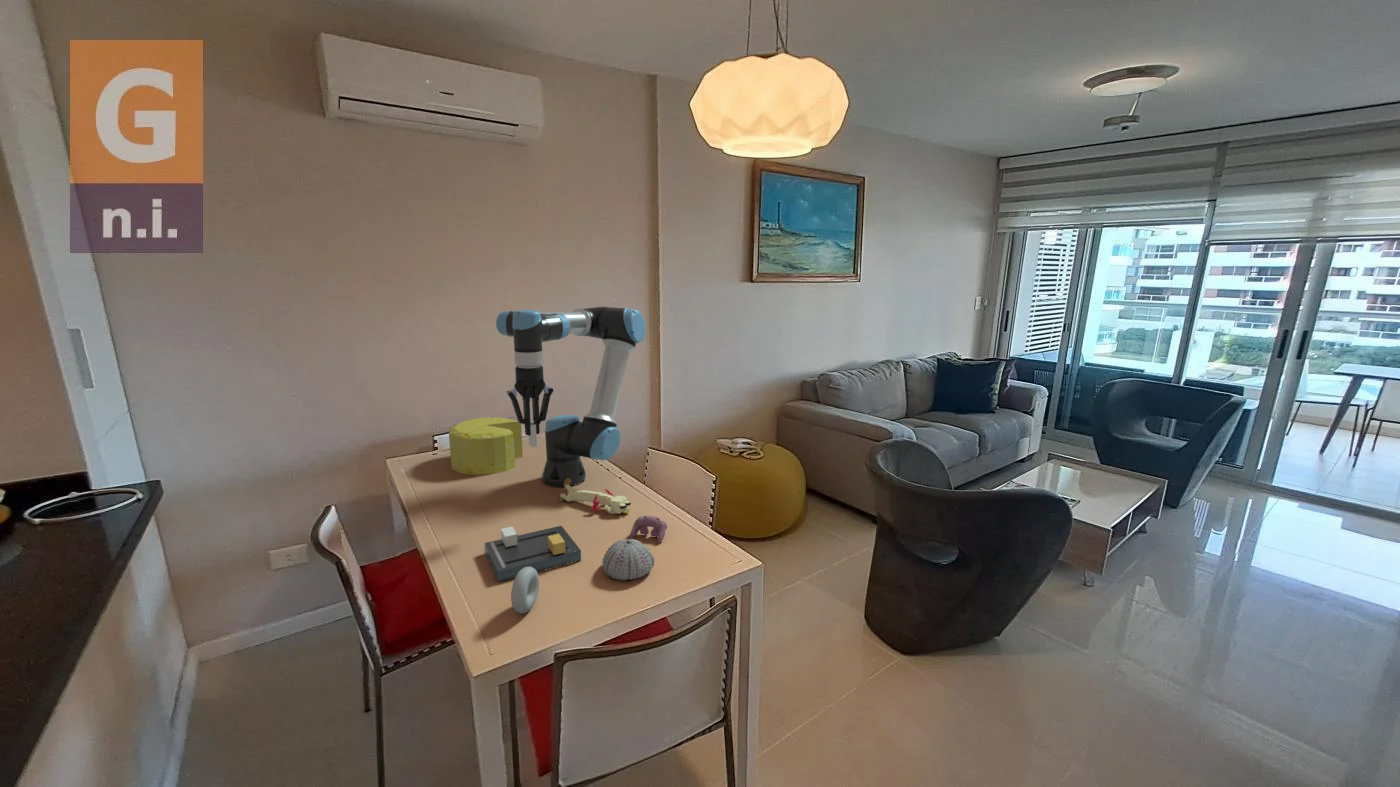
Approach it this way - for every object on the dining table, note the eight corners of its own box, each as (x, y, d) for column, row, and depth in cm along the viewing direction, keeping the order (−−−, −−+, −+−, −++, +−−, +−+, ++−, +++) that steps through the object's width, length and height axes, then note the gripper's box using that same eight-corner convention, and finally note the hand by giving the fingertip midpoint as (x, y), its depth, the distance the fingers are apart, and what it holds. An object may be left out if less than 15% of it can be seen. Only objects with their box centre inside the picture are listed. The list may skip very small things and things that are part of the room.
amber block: (559, 543, 150) (558, 533, 149) (565, 552, 146) (564, 541, 145) (548, 546, 148) (547, 536, 147) (553, 555, 144) (553, 544, 143)
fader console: (561, 535, 161) (561, 525, 160) (581, 560, 148) (580, 550, 147) (485, 553, 150) (484, 542, 150) (498, 582, 137) (497, 571, 136)
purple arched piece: (665, 543, 161) (669, 519, 163) (660, 543, 157) (664, 518, 158) (633, 538, 164) (638, 513, 165) (628, 538, 160) (632, 513, 161)
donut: (528, 595, 132) (526, 557, 130) (542, 597, 132) (540, 558, 129) (509, 622, 123) (506, 581, 120) (524, 623, 122) (522, 582, 120)
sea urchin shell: (592, 578, 140) (591, 549, 139) (617, 552, 153) (617, 525, 151) (639, 590, 136) (639, 560, 134) (662, 562, 148) (662, 535, 147)
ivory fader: (512, 536, 153) (512, 526, 152) (517, 544, 149) (516, 534, 148) (501, 539, 151) (500, 528, 151) (505, 547, 147) (505, 536, 147)
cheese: (537, 462, 217) (535, 425, 214) (473, 481, 198) (470, 440, 194) (501, 446, 234) (499, 412, 230) (438, 462, 214) (435, 424, 211)
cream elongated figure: (556, 508, 181) (621, 519, 171) (553, 483, 179) (619, 492, 169) (575, 497, 190) (638, 506, 179) (572, 473, 188) (636, 481, 178)
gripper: (547, 361, 164) (551, 438, 170) (502, 365, 157) (506, 444, 163) (556, 366, 158) (559, 445, 164) (508, 369, 151) (513, 452, 157)
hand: (533, 445), depth 163 cm, fingers closed
